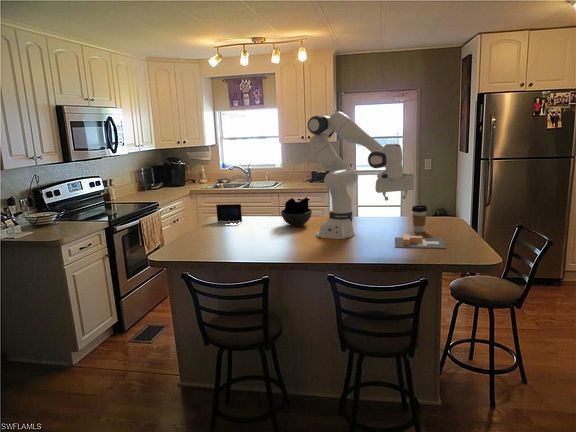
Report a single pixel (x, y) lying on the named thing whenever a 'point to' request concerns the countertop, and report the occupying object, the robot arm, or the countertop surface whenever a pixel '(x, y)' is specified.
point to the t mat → (425, 243)
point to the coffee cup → (419, 217)
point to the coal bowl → (296, 212)
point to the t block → (411, 239)
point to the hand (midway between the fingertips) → (395, 199)
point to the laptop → (228, 214)
